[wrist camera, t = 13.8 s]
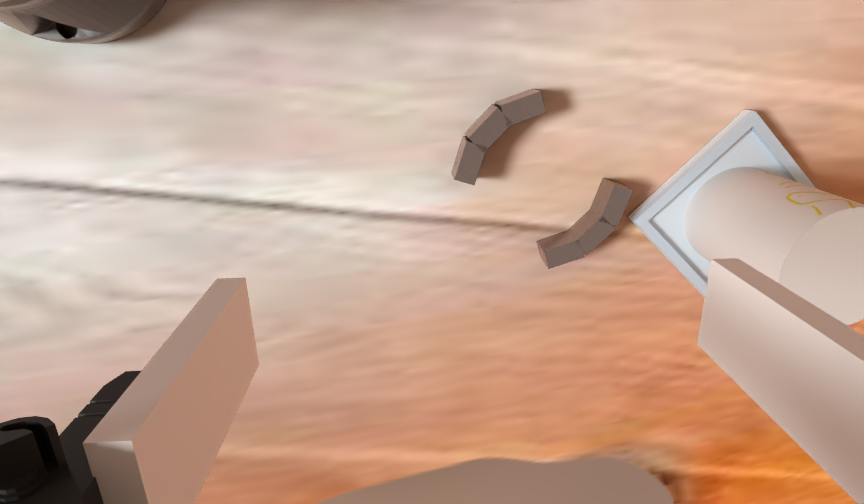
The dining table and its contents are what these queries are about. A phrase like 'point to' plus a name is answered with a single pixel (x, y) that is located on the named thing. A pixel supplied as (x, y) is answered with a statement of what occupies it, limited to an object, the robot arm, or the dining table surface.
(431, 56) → the dining table surface
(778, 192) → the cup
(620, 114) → the dining table surface
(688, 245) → the tray
